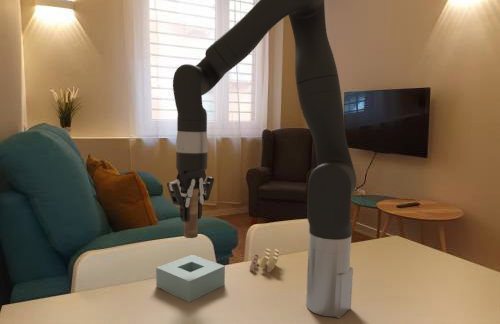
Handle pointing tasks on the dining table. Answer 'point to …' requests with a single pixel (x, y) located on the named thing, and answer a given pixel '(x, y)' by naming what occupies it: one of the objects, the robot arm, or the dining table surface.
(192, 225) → the peg
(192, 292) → the socket block
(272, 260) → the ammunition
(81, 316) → the dining table surface
